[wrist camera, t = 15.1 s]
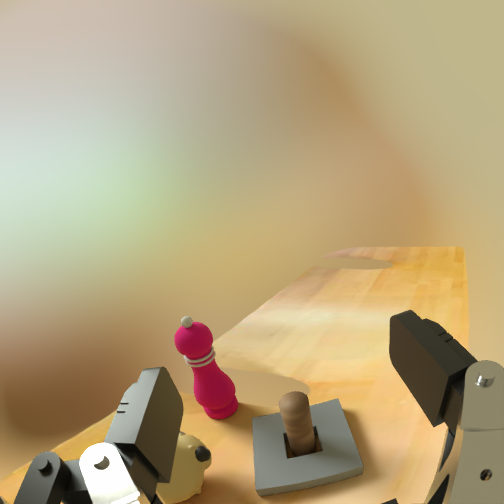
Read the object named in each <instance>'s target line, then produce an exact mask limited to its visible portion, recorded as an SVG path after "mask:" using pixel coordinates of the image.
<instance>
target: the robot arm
mask: <svg viewBox="0 0 504 504" xmlns="http://www.w3.org/2000/svg"><path fill="white" fill-rule="evenodd" d="M389 354H390V359H391V362H392V364H393V366H394V368H395V369H396V371H397V372H398V374H399V375H400V377H401V378H402V380H403V381H404V383H405V384H406V386H407V387H408V389H409V390H410V392H411V393H412V395H413V396H414V398H415V399H416V401H417V402H418V404H419V405H420V407H421V408H422V410H423V411H424V413H425V414H426V416H427V418H428V419H429V421H430V422H431V424H432V425H433V427H435V426H437V425H439V424H441V423H443V422H445V423H446V425H447V426H448V428H447V430H446V434H445V439H444V444H443V448H442V452H441V457H440V461H439V464H438V468H437V472H436V475H435V478H434V481H433V483H432V485H431V488H430V490H429V492H428V495H427V497H426V500H425V502H424V504H504V368H503V367H502V366H501V365H500V364H498V363H496V362H493V361H488V360H485V361H477V360H476V359H475V358H474V357H473V356H472V355H471V354H470V353H469V352H468V351H467V350H466V349H465V348H464V347H463V346H462V345H461V344H460V343H459V342H458V341H457V340H455V339H453V337H452V336H451V335H450V334H449V333H447V332H446V330H445V329H444V328H443V327H442V326H440V325H439V324H438V323H436V322H434V321H431V320H429V319H423V320H422V319H421V318H420V317H419V316H418V315H417V314H416V313H415V312H413V311H412V310H408V311H405V312H402V313H400V314H397V315H394V316H392V317H391V318H390V344H389ZM182 416H183V402H182V399H181V396H180V394H179V392H178V390H177V388H176V386H175V385H174V383H173V381H172V379H171V377H170V375H169V372H168V371H167V369H166V368H165V367H156V368H147V369H144V370H143V371H142V373H141V376H140V378H139V380H138V382H137V383H133V385H132V386H131V387H130V388H129V389H128V390H127V391H126V392H125V394H124V396H123V398H122V400H121V405H119V407H118V409H117V413H116V414H115V416H114V418H113V421H112V423H111V425H110V428H109V430H108V433H107V435H106V437H105V440H104V442H103V443H101V444H96V445H94V446H92V447H90V448H89V449H87V450H86V451H85V452H84V454H83V455H82V457H81V459H78V460H71V461H63V460H62V459H61V458H60V457H59V456H58V455H57V454H56V453H54V452H51V451H47V452H43V453H40V454H39V455H38V456H36V457H35V458H34V459H33V461H32V463H31V465H30V467H29V469H28V471H27V473H26V475H25V478H24V480H23V482H22V484H21V487H20V489H19V491H18V494H17V496H16V499H15V501H14V504H60V503H61V502H62V503H64V504H166V503H165V502H164V500H163V499H162V497H161V496H160V494H159V493H158V492H157V491H156V487H157V483H170V479H171V473H172V468H173V462H174V457H175V452H176V447H177V441H178V436H179V431H180V426H181V421H182ZM0 504H10V503H8V502H7V501H6V500H5V499H4V498H2V497H1V496H0ZM382 504H398V503H397V500H396V498H395V499H392V500H390V501H387V502H385V503H382Z"/></svg>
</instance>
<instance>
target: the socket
mask: <svg viewBox="0 0 504 504" xmlns="http://www.w3.org/2000/svg"><path fill="white" fill-rule="evenodd" d="M309 407H310V413H311V419H312V425H313V431H314V435H318V438H319V442H320V446H321V450H322V451H321V452H317V453H312V454H308V455H304V456H299V457H294V458H289V459H288V455H287V448H286V442H287V441H289V440H288V437H287V433H286V430H285V426H284V423H283V419H282V415H281V412H280V413H275V414H270V415H265V416H259V417H253V418H252V428H253V448H254V467H255V486H256V491H257V493H258V494H259V496H265V495H273V494H279V493H285V492H291V491H297V490H302V489H307V488H311V487H316V486H320V485H324V484H328V483H332V482H336V481H339V480H343V479H347V478H350V477H353V476H356V475H360V474H363V463H362V460H361V458H360V455H359V452H358V450H357V447H356V444H355V441H354V439H353V436H352V433H351V431H350V428H349V425H348V423H347V420H346V418H345V415H344V412H343V410H342V407H341V404H340V402H339V399H334V400H331V401H327V402H323V403H319V404H315V405H312V406H309Z"/></svg>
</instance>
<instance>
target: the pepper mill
mask: <svg viewBox="0 0 504 504" xmlns="http://www.w3.org/2000/svg"><path fill="white" fill-rule="evenodd" d="M181 324H182V327H180V328H179V329H178V331H177V332H176V334H175V345H176V348H177V350H178V351H179V352H180V353H181V354H183V355H184V359H185V360H186V363H187V364H188V365H189V366H191V368H192V370H193V373H194V394H195V397H196V400H197V402H198V403H199V404H200V405H202V406H203V408H204V410H205V412H206V414H207V415H208V416H209V417H211V418H214V419H224V418H227V417H229V416H231V415H232V414H233V413H235V411H236V410H237V408H238V401H237V398H236V396H235V386H234V384H233V382H232V380H231V379H230V378H229V377H228V376H227V375H226V374H225V373H224V372H222V371H221V370H220V368H219V367H218V366H217V364H216V362H215V359H214V358H215V351H214V348H213V346H212V343H213V337H212V333H211V332H210V330H209V328H208V327H207V326H206V325H204V324H202V323H199V322H193V321H192V319H191V318H190V317H188V316H185V317H183V318H182V320H181Z"/></svg>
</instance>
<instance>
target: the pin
mask: <svg viewBox="0 0 504 504" xmlns="http://www.w3.org/2000/svg"><path fill="white" fill-rule="evenodd" d="M279 408H280V412H281V415H282V419H283V423H284V426H285V430H286V433H287V437H288V440H289V444H290V447H291V451H292V454H293V456H294V457H299V456H304V455H308V454H312V453H316V443H315V437H314V431H313V425H312V419H311V413H310V407H309V401H308V397H307V395H305V394H304V393H302V392H290V393H287V394H285V395H284V396H283V397H281V399H280V400H279Z"/></svg>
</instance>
